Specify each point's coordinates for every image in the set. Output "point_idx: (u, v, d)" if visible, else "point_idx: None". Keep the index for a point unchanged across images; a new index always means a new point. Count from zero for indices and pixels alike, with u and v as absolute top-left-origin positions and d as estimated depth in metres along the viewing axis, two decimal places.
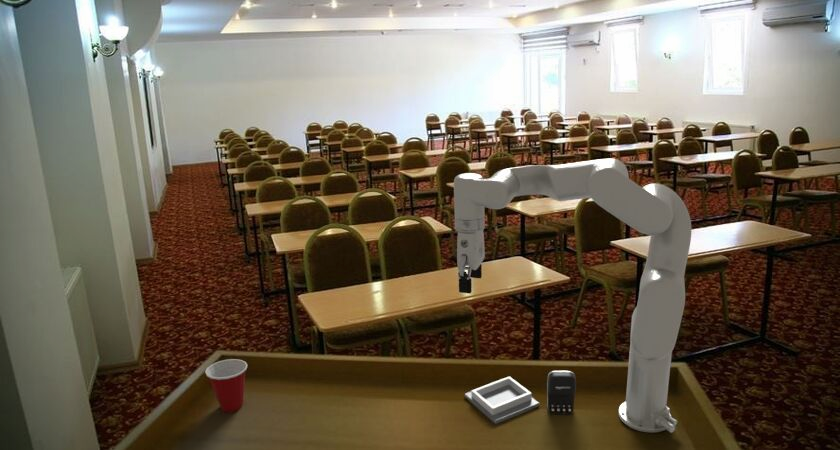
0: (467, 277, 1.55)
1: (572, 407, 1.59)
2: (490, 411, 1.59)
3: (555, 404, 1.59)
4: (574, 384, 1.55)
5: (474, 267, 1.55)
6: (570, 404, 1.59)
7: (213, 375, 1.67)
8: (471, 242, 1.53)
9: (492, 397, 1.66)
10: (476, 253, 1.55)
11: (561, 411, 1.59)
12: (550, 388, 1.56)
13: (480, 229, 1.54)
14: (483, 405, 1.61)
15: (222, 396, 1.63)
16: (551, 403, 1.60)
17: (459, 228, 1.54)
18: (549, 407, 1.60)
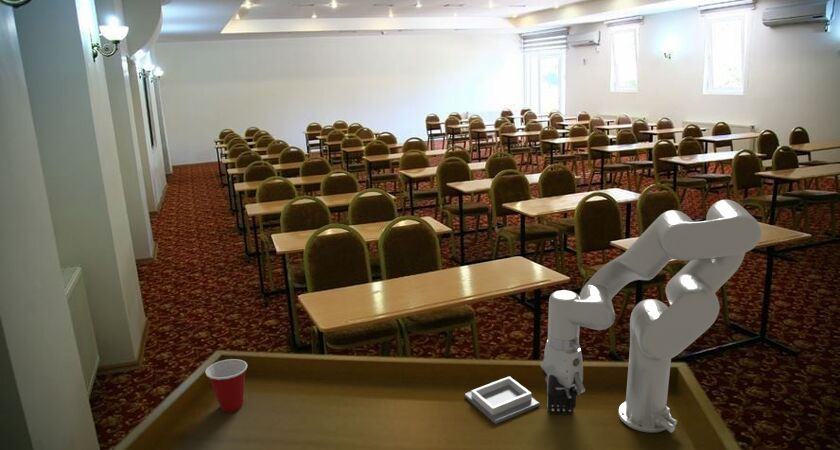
0: None
1: None
2: (490, 411, 1.59)
3: (555, 404, 1.59)
4: None
5: (582, 380, 1.54)
6: None
7: (213, 375, 1.67)
8: (581, 358, 1.51)
9: (492, 397, 1.66)
10: None
11: (561, 411, 1.59)
12: (550, 389, 1.56)
13: None
14: (483, 405, 1.61)
15: (222, 396, 1.63)
16: (551, 403, 1.59)
17: (567, 349, 1.50)
18: (549, 407, 1.60)
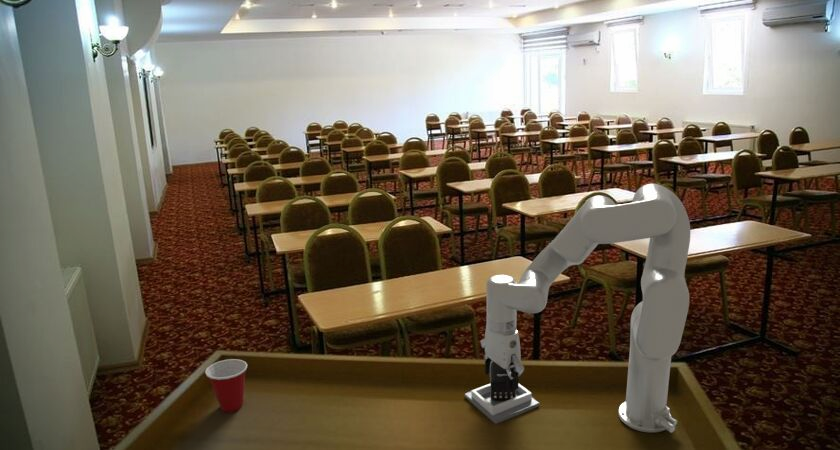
0: None
1: (514, 394, 1.64)
2: (490, 411, 1.59)
3: (498, 391, 1.64)
4: None
5: None
6: (512, 391, 1.64)
7: (213, 375, 1.67)
8: (518, 340, 1.56)
9: None
10: None
11: (503, 398, 1.64)
12: (492, 375, 1.61)
13: None
14: (483, 405, 1.61)
15: (222, 396, 1.63)
16: (494, 390, 1.64)
17: (504, 331, 1.54)
18: (492, 394, 1.64)
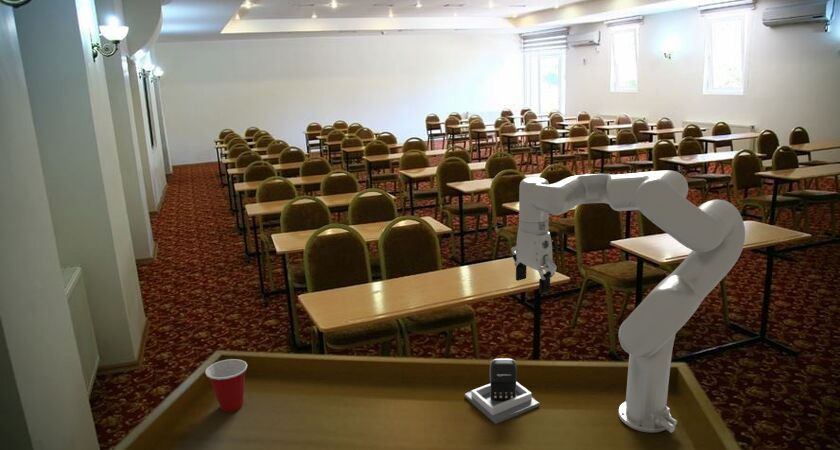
0: (551, 275, 1.61)
1: (514, 394, 1.64)
2: (490, 411, 1.59)
3: (498, 391, 1.64)
4: (515, 371, 1.60)
5: None
6: (512, 391, 1.64)
7: (213, 375, 1.67)
8: (550, 241, 1.59)
9: None
10: None
11: (503, 398, 1.64)
12: (492, 375, 1.61)
13: None
14: (483, 405, 1.61)
15: (222, 396, 1.63)
16: (494, 390, 1.64)
17: (537, 231, 1.58)
18: (492, 394, 1.64)
